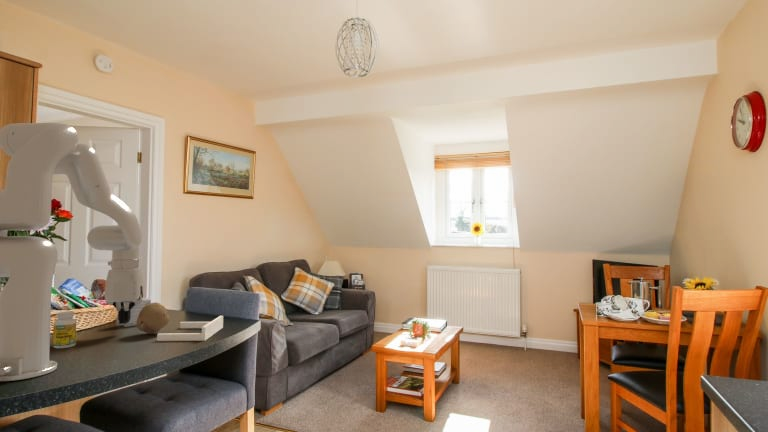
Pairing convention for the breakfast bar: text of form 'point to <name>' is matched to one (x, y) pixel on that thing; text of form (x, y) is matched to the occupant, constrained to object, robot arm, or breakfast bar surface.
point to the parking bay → (207, 332)
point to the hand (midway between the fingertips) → (124, 322)
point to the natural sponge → (152, 318)
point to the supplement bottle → (64, 330)
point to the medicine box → (136, 312)
